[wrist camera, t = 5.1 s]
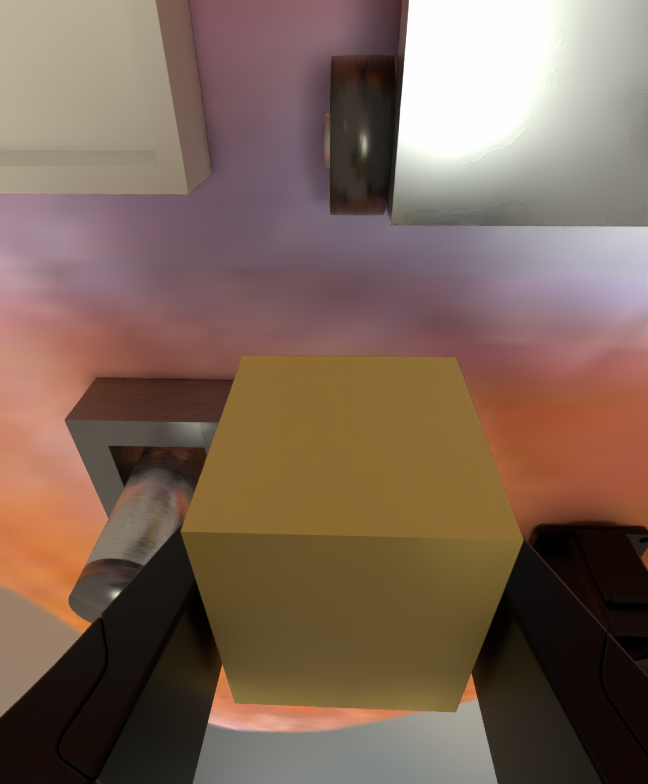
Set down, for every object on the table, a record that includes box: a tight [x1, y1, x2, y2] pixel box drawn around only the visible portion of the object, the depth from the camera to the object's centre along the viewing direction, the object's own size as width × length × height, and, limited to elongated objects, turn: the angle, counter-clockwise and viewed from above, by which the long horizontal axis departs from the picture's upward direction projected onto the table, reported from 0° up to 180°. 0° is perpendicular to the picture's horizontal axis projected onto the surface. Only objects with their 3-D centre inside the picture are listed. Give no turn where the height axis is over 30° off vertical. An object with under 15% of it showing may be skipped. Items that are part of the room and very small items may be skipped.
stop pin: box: [69, 446, 207, 623], centre depth 20 cm, size 3×3×9 cm
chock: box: [181, 355, 524, 712], centre depth 8 cm, size 5×4×4 cm
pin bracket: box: [65, 378, 234, 518], centre depth 22 cm, size 7×7×3 cm
